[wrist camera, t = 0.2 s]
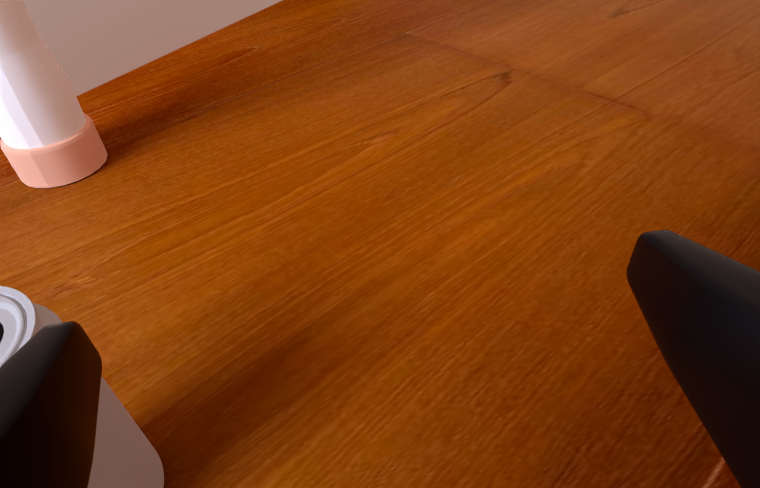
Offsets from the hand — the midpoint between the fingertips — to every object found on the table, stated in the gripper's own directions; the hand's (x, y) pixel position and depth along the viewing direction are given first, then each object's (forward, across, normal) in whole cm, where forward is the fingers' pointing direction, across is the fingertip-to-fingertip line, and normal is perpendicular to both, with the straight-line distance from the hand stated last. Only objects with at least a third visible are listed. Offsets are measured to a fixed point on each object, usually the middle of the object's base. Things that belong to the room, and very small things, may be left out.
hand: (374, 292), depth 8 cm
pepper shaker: (+38, +23, +17) cm, 48 cm away
